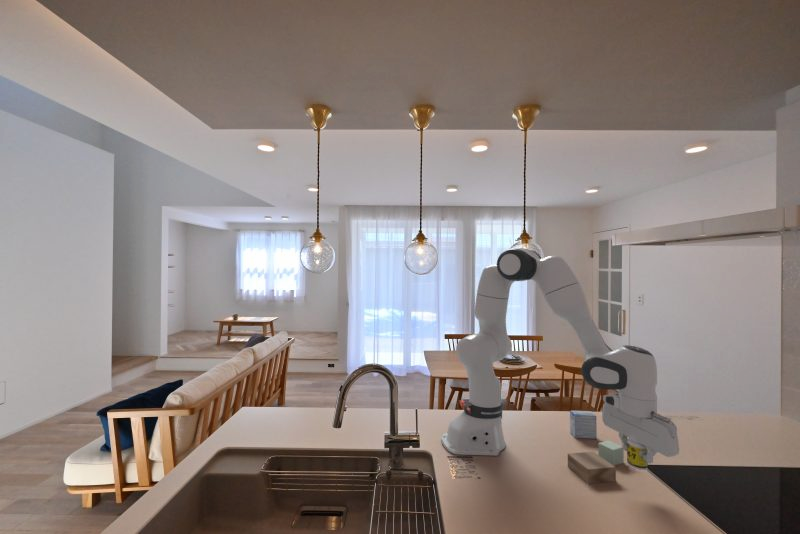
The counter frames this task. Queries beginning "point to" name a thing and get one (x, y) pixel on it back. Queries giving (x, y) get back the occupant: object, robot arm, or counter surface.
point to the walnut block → (591, 467)
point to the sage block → (611, 452)
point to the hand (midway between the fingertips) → (637, 456)
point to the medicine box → (583, 424)
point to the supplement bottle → (636, 454)
